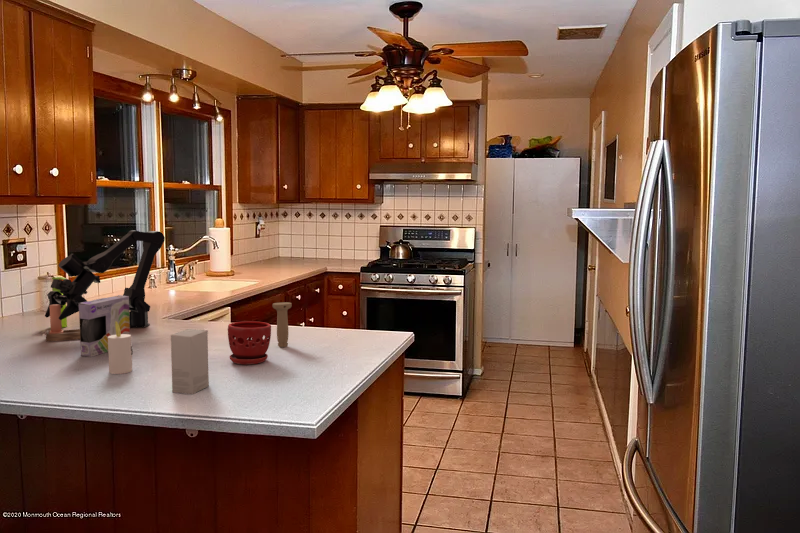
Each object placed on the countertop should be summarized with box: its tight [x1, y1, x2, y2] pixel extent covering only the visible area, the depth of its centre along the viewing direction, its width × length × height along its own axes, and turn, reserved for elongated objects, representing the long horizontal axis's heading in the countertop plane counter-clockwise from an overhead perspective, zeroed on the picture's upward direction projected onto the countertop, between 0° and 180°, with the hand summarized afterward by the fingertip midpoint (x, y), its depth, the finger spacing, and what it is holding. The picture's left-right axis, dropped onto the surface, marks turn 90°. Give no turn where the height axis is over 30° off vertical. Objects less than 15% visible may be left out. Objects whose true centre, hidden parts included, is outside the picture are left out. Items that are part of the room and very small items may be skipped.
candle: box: [107, 321, 133, 375], centre depth 198 cm, size 6×6×15 cm
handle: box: [272, 301, 292, 348], centre depth 232 cm, size 5×6×15 cm
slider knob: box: [48, 304, 64, 334], centre depth 245 cm, size 4×5×11 cm
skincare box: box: [170, 328, 210, 395], centre depth 178 cm, size 8×7×16 cm
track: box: [45, 328, 80, 343], centre depth 247 cm, size 16×7×4 cm, turn 116°
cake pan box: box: [78, 294, 131, 358], centre depth 225 cm, size 19×5×18 cm, turn 160°
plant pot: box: [227, 321, 272, 366], centre depth 210 cm, size 13×13×12 cm
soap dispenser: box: [48, 276, 68, 329], centre depth 268 cm, size 6×7×20 cm
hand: (52, 318), depth 244 cm, fingers open, 9 cm apart
